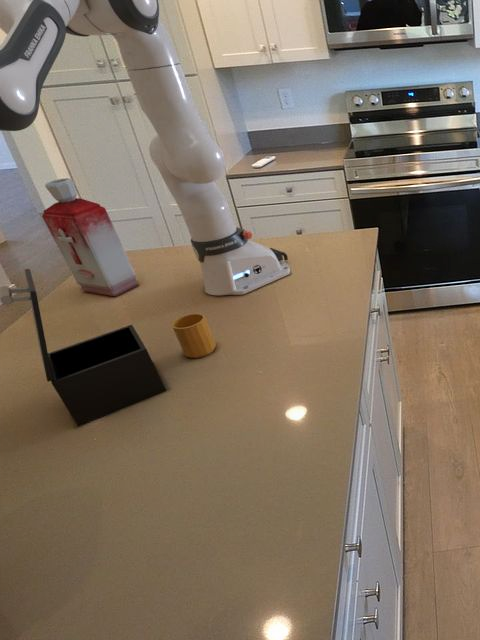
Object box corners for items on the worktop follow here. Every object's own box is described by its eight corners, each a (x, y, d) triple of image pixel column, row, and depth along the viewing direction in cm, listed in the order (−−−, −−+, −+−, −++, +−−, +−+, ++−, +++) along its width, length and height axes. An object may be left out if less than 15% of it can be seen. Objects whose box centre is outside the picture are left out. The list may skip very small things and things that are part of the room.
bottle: (144, 283, 160) (95, 176, 144) (111, 299, 152) (55, 188, 136) (111, 278, 166) (60, 174, 150) (78, 293, 158) (20, 186, 142)
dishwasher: (151, 364, 122) (132, 324, 116) (166, 390, 112) (146, 348, 107) (69, 395, 114) (44, 354, 109) (78, 426, 105) (51, 383, 99)
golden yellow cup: (211, 340, 128) (199, 310, 124) (220, 350, 124) (208, 320, 119) (182, 351, 125) (168, 321, 121) (189, 362, 120) (176, 331, 116)
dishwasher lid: (29, 268, 102) (-5, 270, 99) (36, 290, 93) (-2, 293, 90) (45, 352, 109) (13, 355, 106) (53, 380, 99) (18, 385, 96)
